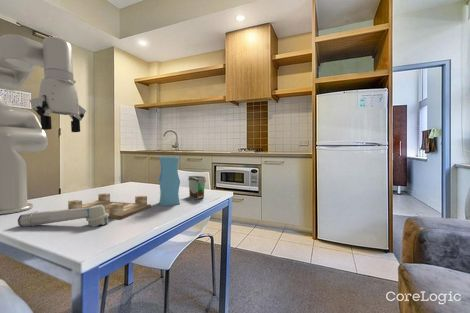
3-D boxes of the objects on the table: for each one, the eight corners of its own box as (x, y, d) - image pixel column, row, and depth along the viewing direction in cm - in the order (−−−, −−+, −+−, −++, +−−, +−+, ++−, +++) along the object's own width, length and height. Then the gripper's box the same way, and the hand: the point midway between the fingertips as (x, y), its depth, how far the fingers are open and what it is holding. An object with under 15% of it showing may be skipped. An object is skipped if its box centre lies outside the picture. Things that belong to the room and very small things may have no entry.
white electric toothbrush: (29, 211, 70) (110, 199, 72) (33, 231, 71) (113, 219, 72) (14, 216, 65) (101, 203, 66) (18, 238, 65) (104, 225, 67)
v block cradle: (63, 213, 80) (63, 201, 80) (100, 203, 96) (100, 192, 96) (121, 219, 74) (121, 205, 74) (151, 207, 90) (150, 196, 90)
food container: (210, 199, 105) (210, 177, 105) (198, 200, 101) (198, 178, 101) (199, 194, 115) (199, 175, 115) (188, 195, 112) (188, 176, 111)
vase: (158, 201, 99) (158, 157, 98) (176, 200, 102) (176, 156, 101) (160, 206, 91) (160, 157, 91) (180, 204, 95) (179, 157, 94)
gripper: (74, 87, 82) (77, 133, 82) (19, 70, 65) (23, 129, 65) (91, 85, 80) (93, 132, 81) (39, 67, 63) (42, 127, 64)
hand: (62, 130), depth 73 cm, fingers open, 9 cm apart
